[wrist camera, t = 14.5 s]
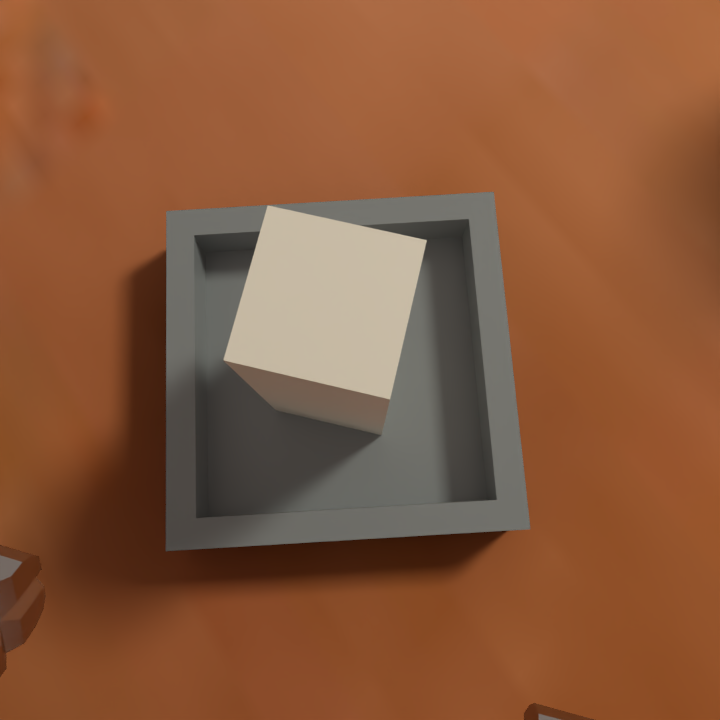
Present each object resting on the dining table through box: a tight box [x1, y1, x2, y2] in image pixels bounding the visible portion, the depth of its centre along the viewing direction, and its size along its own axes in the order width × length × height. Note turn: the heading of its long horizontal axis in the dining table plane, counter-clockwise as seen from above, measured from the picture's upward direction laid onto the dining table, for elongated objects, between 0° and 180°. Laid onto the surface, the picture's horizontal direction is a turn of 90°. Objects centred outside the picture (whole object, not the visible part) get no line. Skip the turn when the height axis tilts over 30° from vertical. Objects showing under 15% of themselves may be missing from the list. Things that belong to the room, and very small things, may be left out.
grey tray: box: [166, 192, 530, 551], centre depth 24 cm, size 12×12×2 cm
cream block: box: [223, 206, 427, 435], centre depth 20 cm, size 4×4×9 cm
